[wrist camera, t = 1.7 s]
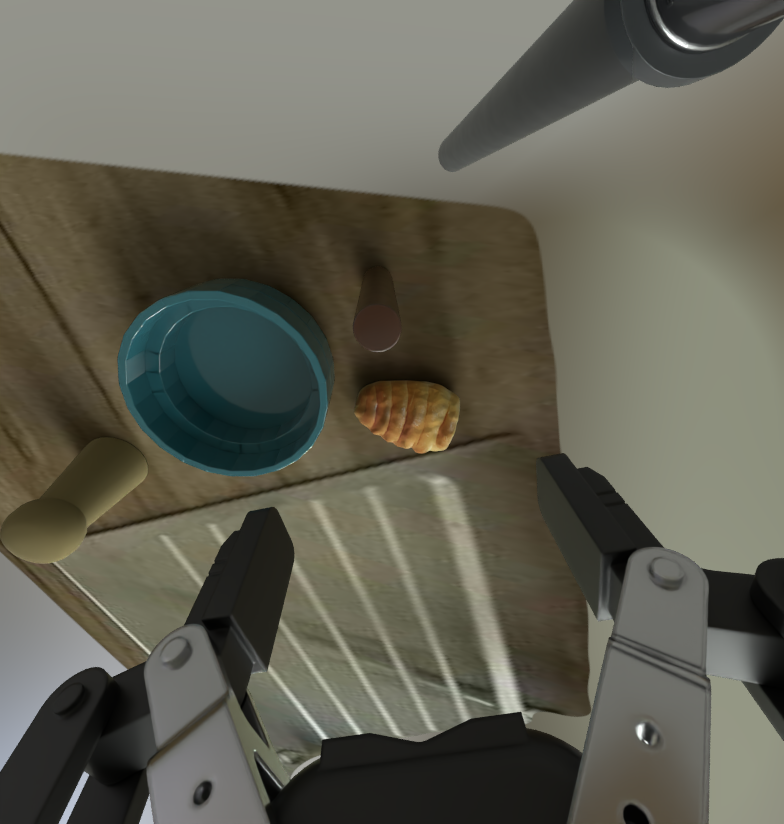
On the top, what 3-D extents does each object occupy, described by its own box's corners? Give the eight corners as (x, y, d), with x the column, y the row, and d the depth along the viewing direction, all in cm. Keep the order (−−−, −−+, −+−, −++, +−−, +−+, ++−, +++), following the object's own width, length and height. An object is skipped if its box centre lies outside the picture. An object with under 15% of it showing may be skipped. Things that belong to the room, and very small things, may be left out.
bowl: (299, 253, 30) (282, 263, 25) (356, 418, 37) (352, 453, 32) (123, 305, 31) (71, 324, 26) (210, 454, 38) (183, 493, 33)
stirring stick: (388, 262, 31) (394, 298, 18) (395, 292, 32) (406, 345, 19) (359, 270, 31) (346, 311, 18) (367, 300, 32) (360, 357, 20)
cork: (151, 490, 40) (78, 579, 30) (89, 482, 40) (-5, 571, 30) (144, 441, 38) (62, 522, 28) (78, 433, 37) (-30, 513, 27)
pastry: (349, 426, 37) (346, 447, 34) (364, 362, 34) (363, 378, 31) (440, 445, 39) (446, 467, 35) (463, 385, 36) (472, 403, 32)
